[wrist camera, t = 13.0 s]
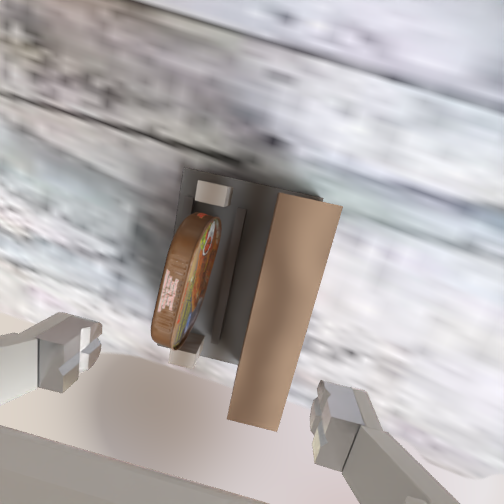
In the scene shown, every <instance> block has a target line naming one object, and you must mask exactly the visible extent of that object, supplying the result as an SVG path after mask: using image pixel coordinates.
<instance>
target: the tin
mask: <svg viewBox="0 0 504 504" xmlns="http://www.w3.org/2000/svg"><path fill="white" fill-rule="evenodd" d="M221 230H222V225H221V220H220V218H219V217H213V216H210V215H207V214H204V213H201V212H195V213H193V214H191V215H189V216H188V217H186V218H185V219H184V221H183V222H182V223H181V225H180V226H179V228H178V229H177V231H176V233H175V235H174V237H173V240H172V242H171V245H170V248H169V251H168V254H167V259H166V263H165V267H164V271H163V275H162V279H161V284H160V288H159V292H158V297H157V301H156V306H155V310H154V315H153V319H152V324H151V337H152V339H153V340H154V341H155V342H156V343H159V344H161V345H163V346H166V347H169V348H171V349H172V350H173V351H176V350H178V349H179V348H180V347H181V346H182V345H183V343H184V342H185V340H186V339H187V337H188V335H189V333H190V331H191V329H192V327H193V325H194V323H195V321H196V319H197V317H198V314H199V312H200V309H201V306H202V303H203V300H204V296H205V293H206V289H207V285H208V282H209V278H210V275H211V271H212V268H213V264H214V261H215V257H216V254H217V250H218V246H219V242H220V237H221Z"/></svg>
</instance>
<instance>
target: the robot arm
mask: <svg viewBox="0 0 504 504" xmlns="http://www.w3.org/2000/svg"><path fill="white" fill-rule="evenodd" d="M101 334H102V324H101V323H100V322H96V321H93V320H89V319H86V318H82V317H79V316H74V315H71V314H68V313H64V312H58V313H56V314H54V315H53V316H51V317H49V318H47V319H45V320H43V321H41V322H40V323H38V324H36V325H34V326H32V327H30V328H29V329H27V330H25V331H23V332H21V333H19V334H18V333H11V334H6V335H1V336H0V405H2V404H5V403H7V402H9V401H11V400H13V399H16V398H18V397H20V396H22V395H25V394H27V393H29V392H31V391H33V390H36V389H37V388H38V387H39V388H43V389H48V390H51V391H55V392H59V393H63V392H64V391H66V390H67V389H68V388H69V387H70V386H71V385H72V384H73V383H74V382H75V381H77V380H78V377H79V373H81V372H84V371H87V370H88V369H89V368H91V367H92V366H93V365H94V363H95V362H96V360H97V358H98V357H99V354H100V351H101V343H100V341H99V339H98V337H99V336H100V335H101ZM317 393H318V397H317V398H316V399H314V400H313V404H312V407H311V413H310V429H311V432H312V433H313V434H314V439H313V442H312V446H313V455H314V462H315V464H317V465H321V466H324V467H327V468H330V469H333V470H337V471H340V472H342V475H343V476H344V478H345V480H346V482H347V483H348V485H349V486H350V488H351V490H352V491H353V493H354V495H355V496H356V498H357V500H358V501H359V503H360V504H460V503H459V502H458V501H457V500H456V499H455V498H454V497H453V496H452V495H451V494H450V493H449V492H448V491H447V490H446V489H445V488H444V487H443V486H442V485H441V484H440V483H439V482H438V481H437V480H436V479H435V478H434V477H432V475H431V474H430V473H429V472H428V471H427V470H426V469H425V468H424V467H423V466H422V465H421V464H420V463H418V462H417V461H416V460H415V459H414V458H413V457H412V456H411V455H410V454H409V453H408V452H407V451H406V450H405V449H404V448H403V447H402V446H401V445H400V444H399V443H398V442H397V441H396V440H395V439H394V438H393V437H392V436H391V435H390V434H389V433H388V432H384V431H383V429H382V427H381V424H380V422H379V420H378V417H377V415H376V413H375V410H374V408H373V406H372V403H371V401H370V399H369V396H368V394H367V392H366V391H365V390H362V389H357V388H353V387H347V386H343V385H339V384H335V383H331V382H327V381H323V380H321V381H320V383H319V385H318V388H317ZM0 504H269V503H265V502H262V501H259V500H255V499H252V498H248V497H245V496H242V495H238V494H235V493H231V492H228V491H225V490H221V489H218V488H214V487H211V486H208V485H204V484H201V483H197V482H194V481H191V480H187V479H184V478H180V477H177V476H173V475H170V474H166V473H163V472H160V471H156V470H153V469H149V468H146V467H142V466H139V465H136V464H132V463H129V462H125V461H122V460H118V459H115V458H111V457H108V456H105V455H101V454H97V453H94V452H91V451H87V450H84V449H80V448H77V447H74V446H70V445H66V444H63V443H59V442H57V441H53V440H49V439H46V438H43V437H39V436H36V435H33V434H29V433H26V432H22V431H18V430H15V429H12V428H8V427H5V426H1V425H0Z"/></svg>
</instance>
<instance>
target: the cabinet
mask: <svg viewBox="0 0 504 504" xmlns="http://www.w3.org/2000/svg"><path fill="white" fill-rule="evenodd" d="M342 208H343V206H339V205H334V204H330V203H325V202H323V198H321V197H316V196H311V195H307V194H302V193H298V192H293V191H289V190H284V189H280V188H275V187H271V186H266V185H262V184H257V183H253V182H248V181H244V180H239V179H235V178H230V177H226V176H221V175H217V174H212V173H207V172H203V171H198V170H194V169H189V168H185V167H184V168H183V175H182V182H181V188H180V195H179V202H178V209H177V215H176V222H175V229H174V235H175V233H176V231H177V229H178V228H179V226H180V225H181V223H182V222H183V221H184V219H185V218H186V217H188V216H189V215H191V214H193V213H195V212H201V213H204V214H207V215H210V216H213V217H219V218H220V220H221V225H222V230H221V237H220V242H219V246H218V250H217V254H216V257H215V261H214V264H213V268H212V271H211V275H210V278H209V282H208V285H207V289H206V293H205V296H204V300H203V303H202V306H201V309H200V312H199V314H198V317H197V319H196V321H195V323H194V325H193V327H192V329H191V331H190V333H189V335H188V337H187V339H186V340H185V342H184V343H183V345H182V346H181V347H180V348H179V349H178V350H176V351H173V350H172V349H171V350H170V356H169V362H168V363H170V364H174V365H178V366H182V367H186V368H190V369H194V367H195V364H196V362H197V360H198V358H199V356H203V357H207V358H211V359H216V360H220V361H224V362H228V363H232V364H236V365H238V368H237V373H236V378H235V382H234V387H233V392H232V397H231V401H230V406H229V411H228V416H227V419H228V420H232V421H236V422H240V423H244V424H248V425H252V426H256V427H260V428H264V429H268V430H272V431H276V432H277V430H278V427H279V423H280V420H281V416H282V413H283V409H284V406H285V403H286V399H287V396H288V393H289V389H290V386H291V382H292V379H293V375H294V372H295V369H296V365H297V362H298V358H299V355H300V351H301V348H302V345H303V341H304V338H305V334H306V331H307V328H308V324H309V321H310V317H311V314H312V310H313V307H314V304H315V300H316V297H317V293H318V290H319V287H320V283H321V280H322V276H323V273H324V269H325V266H326V263H327V259H328V256H329V252H330V249H331V246H332V242H333V239H334V235H335V232H336V228H337V225H338V222H339V218H340V215H341V211H342ZM173 237H174V236H173ZM157 345H158V346H162V347H166V346H163V345H161V344H159V343H157ZM166 348H169V347H166Z"/></svg>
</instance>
